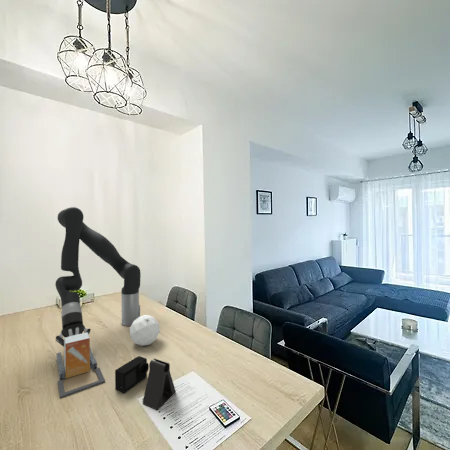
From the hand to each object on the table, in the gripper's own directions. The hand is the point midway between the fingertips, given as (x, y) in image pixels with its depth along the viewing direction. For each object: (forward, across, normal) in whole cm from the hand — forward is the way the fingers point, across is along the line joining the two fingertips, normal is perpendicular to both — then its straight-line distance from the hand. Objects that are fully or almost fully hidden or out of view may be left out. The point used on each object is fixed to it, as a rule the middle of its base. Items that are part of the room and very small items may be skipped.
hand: (75, 356), depth 99 cm
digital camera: (+20, +15, -14) cm, 29 cm away
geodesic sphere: (+2, +28, +5) cm, 29 cm away
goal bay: (+11, 0, -5) cm, 12 cm away
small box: (+6, 0, +1) cm, 6 cm away
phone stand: (+29, +20, -23) cm, 42 cm away
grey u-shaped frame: (+2, 0, +5) cm, 5 cm away
